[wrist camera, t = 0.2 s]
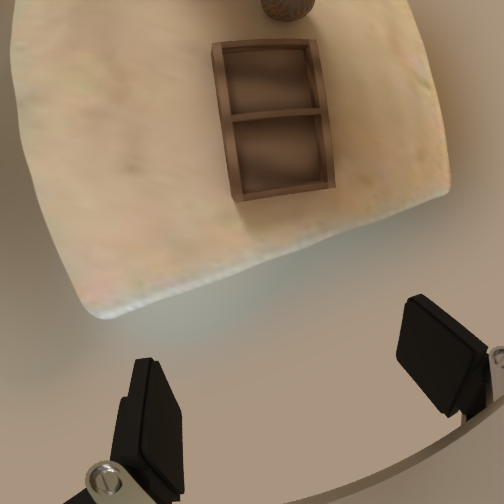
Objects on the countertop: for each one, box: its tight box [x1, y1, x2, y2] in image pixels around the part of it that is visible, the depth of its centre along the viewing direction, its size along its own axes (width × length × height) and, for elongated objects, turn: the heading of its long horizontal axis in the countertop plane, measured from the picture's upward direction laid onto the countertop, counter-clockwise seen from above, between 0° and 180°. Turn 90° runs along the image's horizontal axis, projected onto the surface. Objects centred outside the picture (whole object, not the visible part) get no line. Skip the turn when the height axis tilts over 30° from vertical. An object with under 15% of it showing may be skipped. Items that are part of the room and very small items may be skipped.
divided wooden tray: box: [211, 39, 336, 203], centre depth 34 cm, size 20×13×4 cm, turn 8°
